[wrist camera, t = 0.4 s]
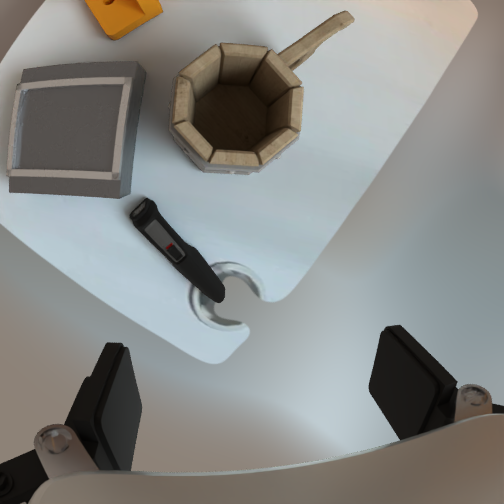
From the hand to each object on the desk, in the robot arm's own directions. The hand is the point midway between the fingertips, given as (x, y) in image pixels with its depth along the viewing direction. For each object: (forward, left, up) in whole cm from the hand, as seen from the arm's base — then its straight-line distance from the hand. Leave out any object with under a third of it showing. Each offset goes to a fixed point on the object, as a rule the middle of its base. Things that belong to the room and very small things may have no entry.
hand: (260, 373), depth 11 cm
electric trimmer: (+4, -5, -31) cm, 31 cm away
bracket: (-28, -17, -30) cm, 45 cm away
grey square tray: (-9, -19, -30) cm, 37 cm away
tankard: (-15, +2, -30) cm, 34 cm away
